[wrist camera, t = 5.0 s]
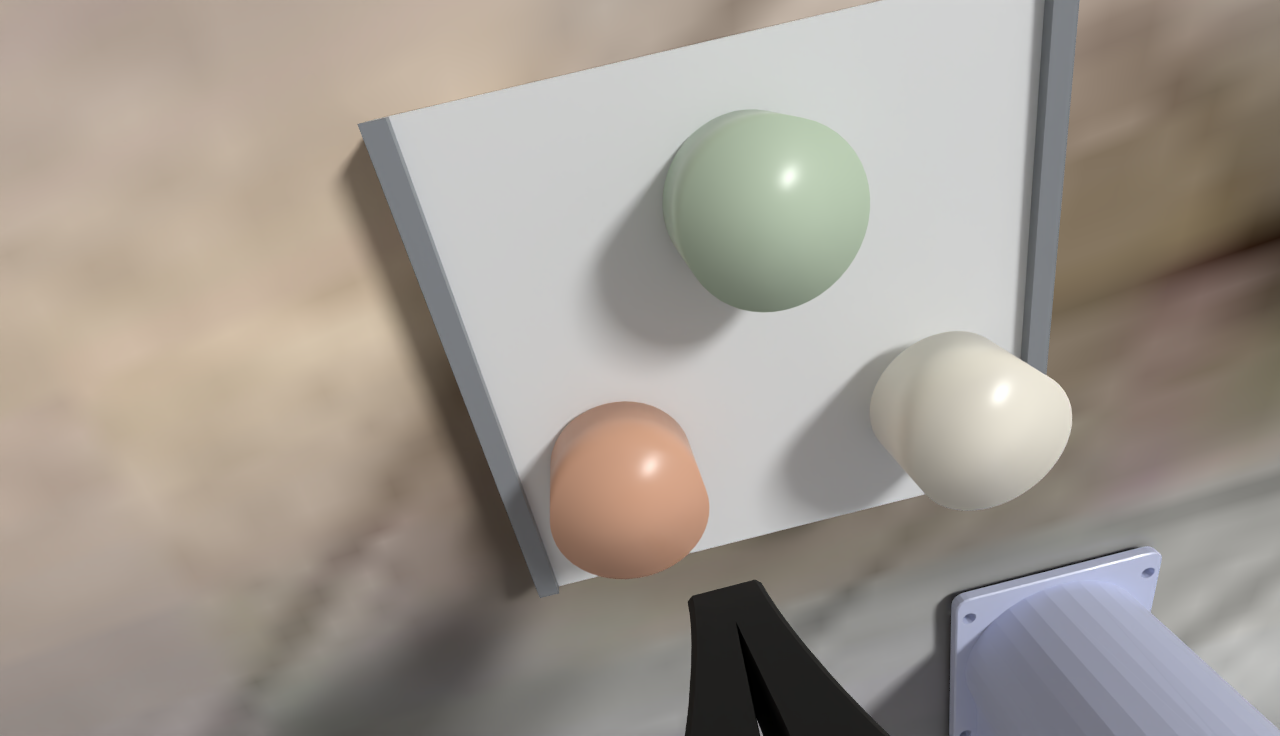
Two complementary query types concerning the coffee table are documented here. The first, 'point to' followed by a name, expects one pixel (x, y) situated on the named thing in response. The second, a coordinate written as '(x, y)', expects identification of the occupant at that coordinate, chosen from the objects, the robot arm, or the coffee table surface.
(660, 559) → the terracotta button
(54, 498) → the coffee table surface
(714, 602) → the robot arm
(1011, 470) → the cream button
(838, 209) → the sage button
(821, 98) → the panel
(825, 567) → the coffee table surface
